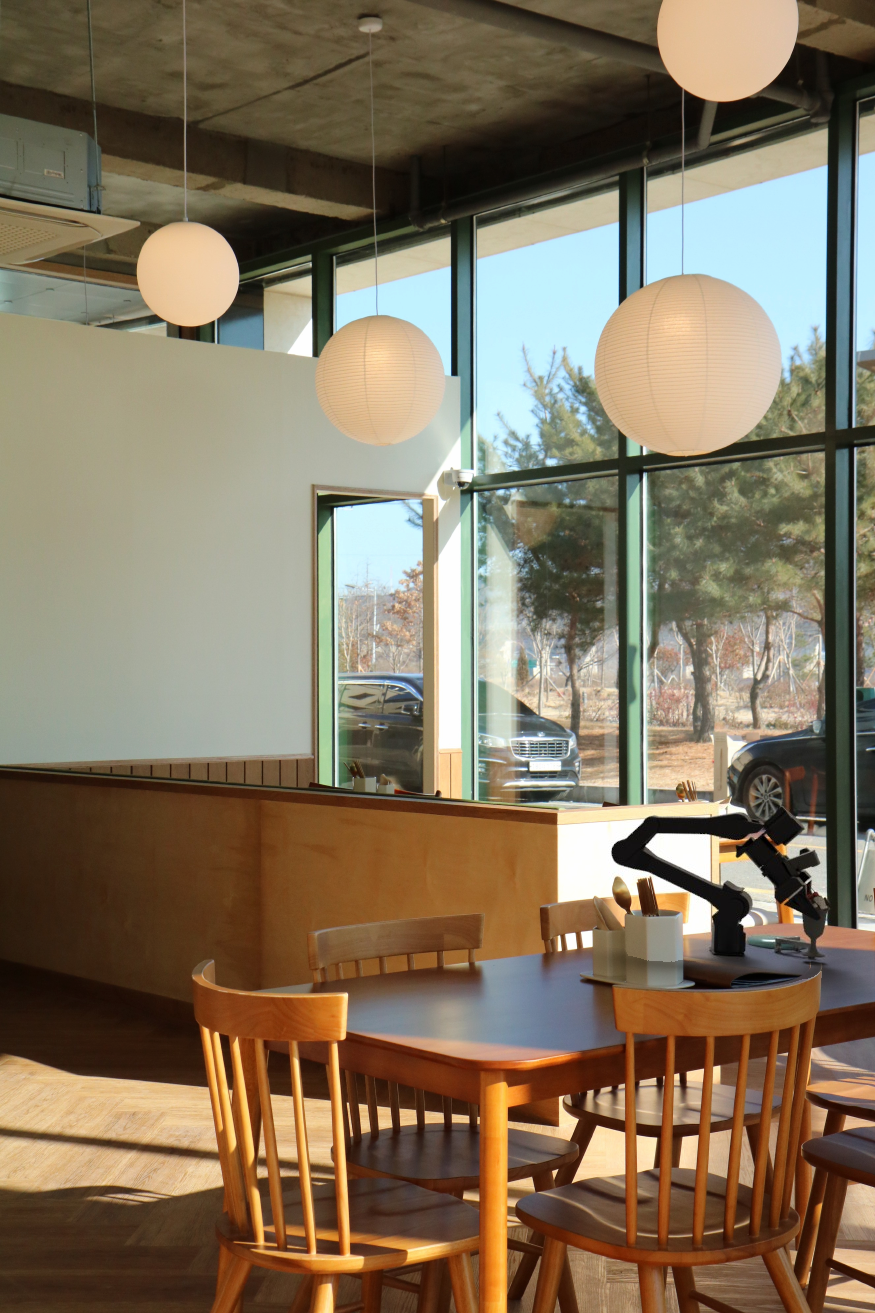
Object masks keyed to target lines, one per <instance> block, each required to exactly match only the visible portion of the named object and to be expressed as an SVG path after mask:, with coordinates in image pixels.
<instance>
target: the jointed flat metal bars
mask: <svg viewBox="0 0 875 1313" xmlns="http://www.w3.org/2000/svg"><path fill="white" fill-rule="evenodd" d="M800 939H801V936H800V935H799V936H798V935H797V936H795V935H793V936H787V937H781V938H775V949H774V952H775V953H779V954H780V953H782V949H781V944H786V945H793V946H794V949H793V951H796V952H800V951H801V949H800V947H805V948H806V949H807V951H808V950H809V949H810V945H811V942H808V941H805V942H802V941H800ZM805 948H804V949H805ZM807 958H810V959H815V958H816V957H807Z"/></svg>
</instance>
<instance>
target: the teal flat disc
mask: <svg viewBox="0 0 875 1313" xmlns="http://www.w3.org/2000/svg"><path fill="white" fill-rule="evenodd" d="M781 937H788V936H787V935H786V936H785V935H778V934H777V935H775V934H752V935H746V944H748V945H751V946H754V947H759V948H765V949H766V948H767V949H774V950H775V938H781ZM800 941H802V942H806V940H804V939H801V938H800ZM801 949H802V950H803V949H805V947H800V950H801ZM781 950H794V946H793V945H786V944H781Z"/></svg>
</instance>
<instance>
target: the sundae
mask: <svg viewBox="0 0 875 1313" xmlns="http://www.w3.org/2000/svg"><path fill="white" fill-rule="evenodd" d="M808 886H809V894H808V895H807V896H808V898H809V899H810V901H811V902H812V904H813V906H814V907H815V909H816V910H817V912H818V913H819V915H820V916H821V919H819V920H818V921H816V920H814V919H812V918H810V917H808V916H806V915H804V914H802V913H801V916H802V917H801V918H802V926H803V928H802V929H803V932H804V934H805V936H807V937H808V938H809V939H810V943H811V945H810V949H809V950H808V949H807V950H806V951H804V952H801V953H800V955H801V956H803V957H807V958H808V957H815V958H818V959H819V958H825V957H826V955H825V954H824V953H821V952H820V951H818V949H817V939H819V938H820V937H822V935H823V934H824V930H825V929H826V928H825V926H826V921H827V915H828V912H829V911H830V910H831V907H829V905H830V903H831V902H830V900H829V899H828V898H827V897H826V896H825V897H823V896H822V895H820V894H819V893H818V891H815V890H814V888H812V886H811V885H808ZM810 886H811V891H812V893H813V894H812V895H811V894H810Z"/></svg>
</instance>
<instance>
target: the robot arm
mask: <svg viewBox="0 0 875 1313" xmlns="http://www.w3.org/2000/svg"><path fill="white" fill-rule="evenodd" d="M763 829H764V830H765V831H764V832H762V830H763ZM805 830H806V828H805V826H804V825H803V824H802V822H801V821H800V820H799V818H797V817H796V816H795V815H793V813H791V812H790V811H789V810H787V809H786V808H785V806H780V807H779V808H778V809H776V811H775V813H774V814H772V815H771V816H770V817H769V818H767V819H766V821H762V820H758V819H754V818H751V817H750V816H749V815H748V814H747V813H745V812H743V811H742V812H741V811H738V812H737V811H736V812H732V813H731V812H730V813H724V814H719V815H714V816H659V815H650V816H648V817H646V818H644V820H643V821H642V822H641V824H639V825H638V826H637V827H636V828H635V829H634V830H633V831H632V832H631V833H630V834H629V835H628V836H627V837H625V838H623V839H621V840H617V841H615V843H614V844H613V845H612V846H611V851H610V852H611V857H612V860H613V861H614V863H615V864H617V865H619V866H622V867H623V868H624V867H625V868H628V869H631V870H635V871H640V872H644V873H649V874H651V875H653V876H655V877H658V878H659V879H661V880H663V881H666V882H668V883H670V884H671V885H672V884H673V885H674V886H676V887H679V889H683V891H687V892H689V893H691V894H692V895H694V896H697V897H699V898H701V899H702V900H703V899H704V900H705V901H706V902H708V904H711V906H712V907H713V908H714V909H716V910H717V911H715V913H714V914H712V915H711V919H712V922H711V939H710V940H711V946H710V947H709V950H710V952H712V953H713V954H714V955H722V956H723V955H724V956H746V955H745V953H746V947H747V946H746V944H747V933H746V932H745V931H744V930H745V929H744V927H745V926H744V925H743V924H742V923H741V922H742V920H743V919H744V918H746V917H747V916H748V915H749V914H750V913H751V911H752V910H753V905H754V904H753V899H752V897H751V895H750V893H748V892H747V891H745V890H746V889H745V887H743V886H742V887H741V886H739V885H736V884H735V883H733V882H732V881H730V880H729V879H728V880H726V881H724V882H723V884H719V883H714V882H712V881H710V880H708V879H706V878H704V877H702V876H700V875H697V874H696V873H693V872H691V871H689V870H687V869H685V868H683V867H681V866H679V865H677V864H675V863H673V862H670V861H668V860H666V859H664V858H662V857H660V856H658V855H656V854H655V853H654V852H653V851H652V850H650V848H649V847H647V845H648V844H649V843H651V841H652V840H653V839H654V838H655V836H656V835H657V834H659V835H661V834H667V835H673V834H674V835H709V836H714V837H717V838H720V839H721V838H722V839H727V840H733V841H741V840H744V839H745V838H747V837H748V836H749V835H753V834H758V833H759V832H762V833H761V834H760V835H759V836H757V837H756V838H754V836H750V837H749V838H748V839H747V840H746V841H745V842H743V843H742V844H735V857H736V858H737V859H738V858H740V857H742V856H743V855H744V854H745V855H746V857H748V858H749V860H751V862H752V863H753V864H754V865H755V866H756V867H757V868H758V869H759V870H760V872H761V876H762V877H763V878H767V879H768V880H769V882H770V883H772V885H773V887H774V893H773V894H774V899H775V900H776V901H777V903H778V904H780V905H782V904H783V905H784V906H786V907H788V908H790V909H791V910H794V911H797V912H798V913H800V914H801V915H802V914H804V915H806V916H808V917H810V918H812V919H814V920H816V921H818V920H819V919H821V916H820V915H819V913H818V912H817V910H816V909H815V907H814V906H813V904H812V902H811V901H810V899H809V898H808V896H807V895H808V894H809V886H808V885H811V886H810V894H811V895H812V894H813V890H812V888H811V887H812V885H813V884H812V882H813V879H811V878H812V875H811V874H810V873H809V872H808V871H807V870H806V869H809V868H815V867H818V866H819V865H820V864H821V861H820V859H819V857H818V853H817V852H816V850H815V849H812V850H810V849H809V848H808V847H804V848H801V849H799V853H798V854H799V855H796V856H794V857H791V858H790V857H789V856H788V855H787V854H782V853H781V852H780V851H779V849H778V848H777V847H778V846H781V844H782V845H783V846H785V847H786V846H787V845H788V844H791V842H792V841H793V840H795V839H796V838H797V837H798V836H799V835H800V834H801V833H803V832H804V831H805ZM766 835H767V836H768V837H769V839H770V840H771V841H772V842H773V843H774V844H775V845H776V846H777V847H776V846H775V845H774V844H773V843H772V842H771V841H770V840H769V839H768V837H767V836H766ZM807 881H808V882H807ZM806 882H807V883H806Z"/></svg>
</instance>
